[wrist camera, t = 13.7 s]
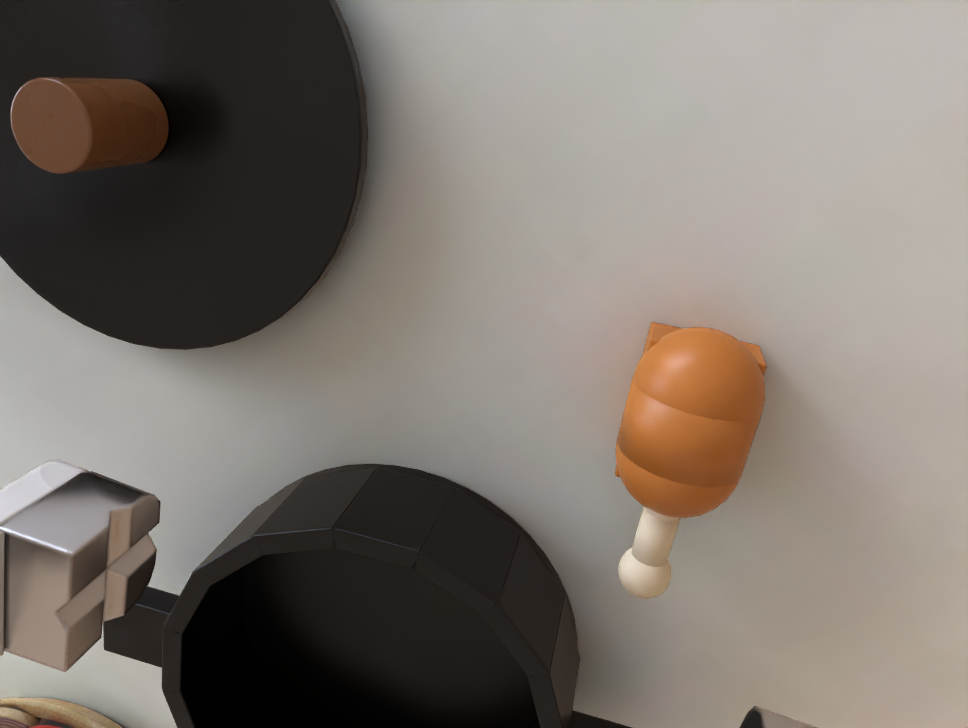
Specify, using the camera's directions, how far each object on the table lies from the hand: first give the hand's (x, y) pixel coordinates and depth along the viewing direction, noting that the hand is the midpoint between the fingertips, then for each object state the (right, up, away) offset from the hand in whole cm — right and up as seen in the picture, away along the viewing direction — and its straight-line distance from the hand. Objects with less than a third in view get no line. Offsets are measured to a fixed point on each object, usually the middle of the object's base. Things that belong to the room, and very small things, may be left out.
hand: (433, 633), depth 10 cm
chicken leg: (+7, +1, +14) cm, 16 cm away
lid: (-10, +11, +14) cm, 20 cm away
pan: (-3, -6, +19) cm, 20 cm away
